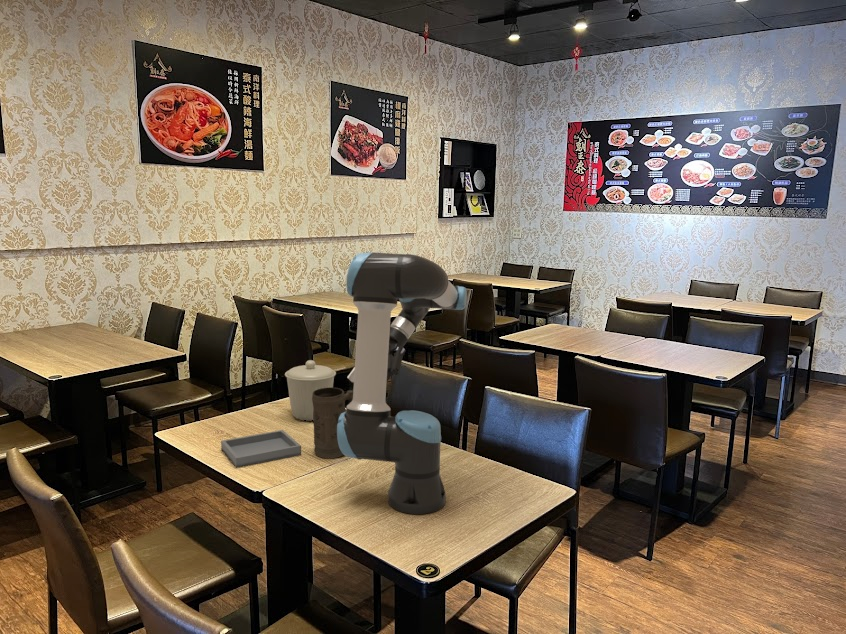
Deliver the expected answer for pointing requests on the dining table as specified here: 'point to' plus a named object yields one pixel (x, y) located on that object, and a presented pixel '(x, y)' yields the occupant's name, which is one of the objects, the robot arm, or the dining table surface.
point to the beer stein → (328, 419)
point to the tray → (260, 448)
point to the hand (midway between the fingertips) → (362, 384)
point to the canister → (307, 387)
